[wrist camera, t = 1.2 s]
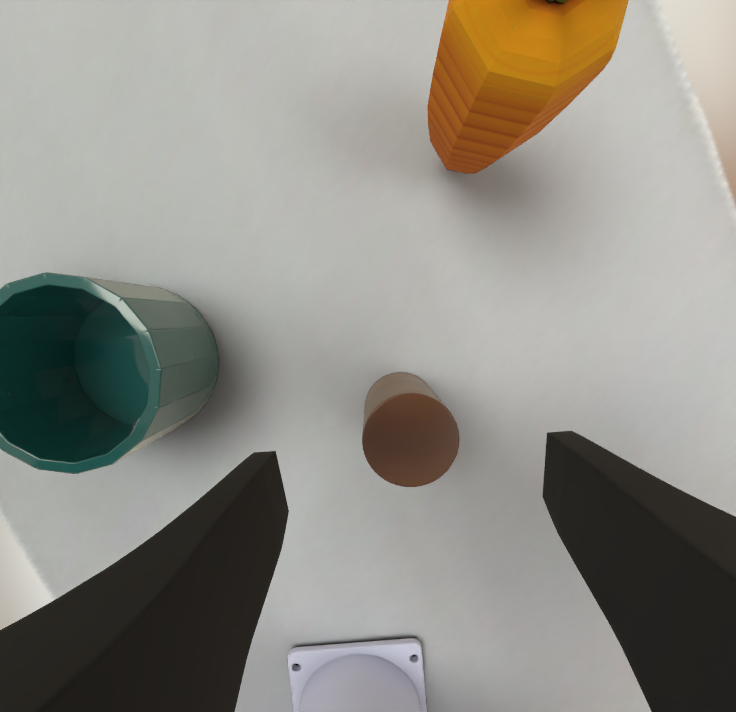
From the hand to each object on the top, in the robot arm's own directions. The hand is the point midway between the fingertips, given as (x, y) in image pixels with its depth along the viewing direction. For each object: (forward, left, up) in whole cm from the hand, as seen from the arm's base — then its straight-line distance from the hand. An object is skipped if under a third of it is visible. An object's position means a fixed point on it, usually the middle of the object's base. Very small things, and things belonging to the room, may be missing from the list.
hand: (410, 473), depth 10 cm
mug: (+3, +15, -11) cm, 19 cm away
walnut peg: (-1, -1, -11) cm, 11 cm away
